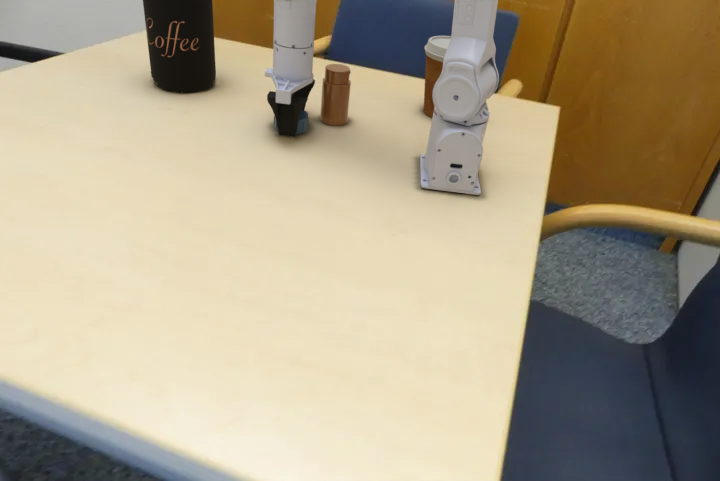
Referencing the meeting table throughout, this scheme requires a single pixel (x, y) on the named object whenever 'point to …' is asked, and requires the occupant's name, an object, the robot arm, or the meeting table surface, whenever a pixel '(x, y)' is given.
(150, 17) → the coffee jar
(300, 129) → the lid
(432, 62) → the disposable coffee cup
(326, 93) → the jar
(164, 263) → the meeting table surface
